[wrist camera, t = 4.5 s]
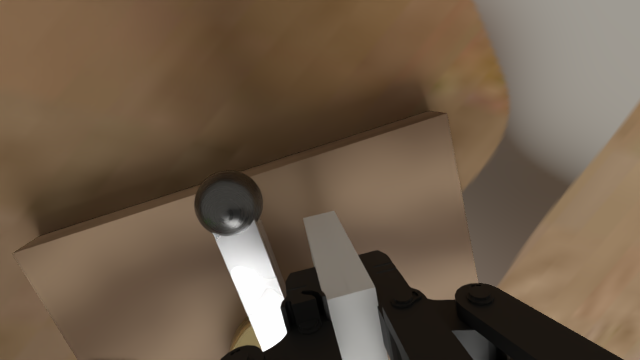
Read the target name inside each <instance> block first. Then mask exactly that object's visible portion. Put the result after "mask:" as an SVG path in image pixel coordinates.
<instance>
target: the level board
mask: <svg viewBox="0 0 640 360" xmlns="http://www.w3.org/2000/svg"><path fill="white" fill-rule="evenodd" d="M241 172H242V173H244V174H246V175H248V176H249V177H251V178H252V179H253V180H254V181H255V182H256V184H257V185H258V186H259V188H260V190H261V193H262V196H263V210H262V214H261V216H260V219H261V221H262V224H263V227H264V229H265V232H266V235H267V237H268V240H269V243H270V245H271V248H272V251H273V253H274V256H275V259H276V261H277V264H278V267H279V269H280V272H281V275H282V277H283V280H284V283H285V282H286V280H287V278H288V276H289V274H290V273H293V272H297V271H301V270H305V269H308V268H312V267H314V264H313V260H312V255H311V251H310V247H309V242H308V238H307V234H306V229H305V225H304V221H303V218H306V217H310V216H314V215H318V214H322V213H326V212H331V211H335V213H336V215H337V217H338V219H339V221H340V223H341V224H342V226H343V228H344V230H345V232H346V234H347V236H348V237H349V239H350V241H351V243H352V245H353V247H354V249H355V250H356V252H357V254H358V255H360V254H364V253H368V252H371V251H375V250H379V251H381V252H383V253H385V254H387V255H388V257H389V258H390V259H391V261H392V263H393V264H394V265H395V266H396V269H398V271H399V272H400V273H401V275H402V276H403V278H404V279H405V280H406V282H407V283H408V285H409V286H410V287H411V288H414V289H417V290H420V291H421V292H422V293H423V294H424V295H425V296H426V297H427V299H432V300H454V299H455V293H456V291H457V289H459V288H460V287H461V286H463V285H467V284H470V283H478V278H477V273H476V268H475V262H474V257H473V251H472V246H471V241H470V235H469V230H468V224H467V219H466V214H465V208H464V203H463V198H462V192H461V186H460V181H459V176H458V170H457V165H456V159H455V154H454V149H453V143H452V138H451V132H450V127H449V122H448V116H447V113H441V112H434V111H428V112H424V113H421V114H418V115H415V116H412V117H409V118H406V119H403V120H400V121H396V122H393V123H390V124H387V125H384V126H381V127H378V128H375V129H372V130H368V131H365V132H362V133H359V134H356V135H353V136H350V137H347V138H344V139H340V140H337V141H334V142H331V143H328V144H325V145H322V146H319V147H316V148H312V149H309V150H306V151H303V152H300V153H297V154H294V155H291V156H288V157H284V158H281V159H278V160H275V161H272V162H269V163H266V164H263V165H260V166H256V167H253V168H250V169H247V170H244V171H241ZM200 185H201V184H200ZM200 185H197V186H194V187H191V188H188V189H185V190H182V191H179V192H175V193H172V194H169V195H166V196H163V197H160V198H157V199H154V200H151V201H147V202H144V203H141V204H138V205H135V206H132V207H129V208H126V209H123V210H119V211H116V212H113V213H110V214H107V215H104V216H101V217H98V218H95V219H91V220H88V221H85V222H82V223H79V224H76V225H73V226H70V227H67V228H63V229H60V230H57V231H54V232H51V233H48V234H45V235H42V236H39V237H37V238H36V239H34V240H32V241H31V242H29V243H28V244H26V245H25V246H23V247H21V248H20V249H18V250H17V251H15V252H14V253H12V255H13V257H14V258H15V260H16V262H17V263H18V265H19V266H20V268H21V270H22V271H23V273H24V274H25V276H26V278H27V279H28V281H29V282H30V284H31V286H32V287H33V289H34V290H35V292H36V294H37V295H38V297H39V299H40V300H41V302H42V303H43V305H44V307H45V308H46V310H47V311H48V313H49V315H50V316H51V318H52V319H53V321H54V323H55V324H56V326H57V327H58V329H59V331H60V332H61V334H62V335H63V337H64V339H65V340H66V342H67V343H68V345H69V347H70V348H71V350H72V351H73V353H74V355H75V356H76V358H77V360H221V358H222V357H224V356H225V355H226V354H227V353H228V352H229V351H230V346H231V342H232V339H233V337H234V334H235V332H236V330H237V329H238V327H239V326H240V324H241V323H242V321H243V320H244V319H245V318H246V317H247V316H248V315H247V313H246V310H245V308H244V306H243V303H242V301H241V298H240V296H239V294H238V291H237V289H236V287H235V284H234V282H233V280H232V277H231V275H230V273H229V270H228V268H227V265H226V263H225V261H224V258H223V256H222V254H221V251H220V249H219V247H218V244H217V242H216V239H215V237H214V235H213V234H212V233H210V232H209V231H207V230H206V229H205V228H204V227H203V226H202V225H201V224H200V222H199V220H198V219H197V216H196V214H195V209H194V200H195V195H196V192H197V190H198V188H199V186H200ZM285 285H286V283H285ZM387 356H388V360H390V357H389V355H388V353H387Z"/></svg>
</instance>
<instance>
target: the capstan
mask: <svg viewBox="0 0 640 360" xmlns="http://www.w3.org/2000/svg"><path fill="white" fill-rule="evenodd" d="M194 209H195V214H196V216H197V219H198V220H199V222H200V224H201V225H202V226H203V227H204V228H205V229H206V230H207V231H209V232H210V233H212V234H213V235H214V237H215V239H216V242H217V244H218V247H219V249H220V251H221V254H222V256H223V258H224V261H225V263H226V265H227V268H228V270H229V273H230V275H231V277H232V280H233V282H234V284H235V287H236V289H237V291H238V294H239V296H240V298H241V301H242V303H243V306H244V308H245V310H246V313H247V315H248V316H247V317H246V318H245V319H244V320H243V321H242V323H241V324H240V326H239V327H238V329H237V330H236V332H235V334H234V337H233V339H232V342H231V346H230V351H232V350H233V349H235V348H237V347H241V346H245V345H254V346H257V347H259V348H260V349H261V350H262V352H263V351H265V350H267V349H269V348H271V347H272V346H274V345H276V344H277V343H278V342H280V341H281V340H282V339H283V338H284V336H285V335H286V334H287V331H286V327H285V324H284V320H283V316H282V313H281V309H280V307H281V303H282V301H283V300H284V299H285V297H286V296H287V294H286V285H285V283H284V280H283V277H282V275H281V272H280V269H279V267H278V264H277V261H276V259H275V256H274V253H273V251H272V248H271V245H270V243H269V240H268V237H267V235H266V232H265V229H264V227H263V224H262V221H261V219H260V216H261V214H262V210H263V196H262V193H261V190H260V188H259V186H258V185H257V184H256V182H255V181H254V180H253V179H252V178H251V177H249V176H248V175H246V174H244V173H242V172H238V171H233V170H226V171H220V172H217V173H214V174H213V175H211V176H209V177H208V178H207V179H205V180H204V181H203V182H202V184H201V185H200V186H199V188H198V190H197V192H196V195H195V200H194ZM230 351H229V352H230Z"/></svg>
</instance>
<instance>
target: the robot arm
mask: <svg viewBox="0 0 640 360" xmlns="http://www.w3.org/2000/svg"><path fill="white" fill-rule="evenodd" d="M303 221H304V225H305V229H306V234H307V238H308V242H309V247H310V251H311V255H312V260H313V264H314V267H312V268H308V269H305V270H301V271H297V272H293V273H290V274H289V276H288V278H287V280H286V282H285V283H286V294H287V296H286V297H285V299H284V300H283V301H282V303H281V307H280V309H281V313H282V316H283V320H284V324H285V327H286V331H287V334H286V335H285V336H284V338H283V339H282V340H281V341H280V342H278V343H277V344H276V345H274V346H272V347H271V348H269V349H267V350H265V351H263V352H262V350H261V349H260V348H259V347H257V346H254V345H245V346H241V347H237V348H235V349H233V350H232V351H230V352H228V353H227V354H226V355H225V356H224V357H222V358H221V360H388V356H387V353H388V355H389V357H390V360H623V359H621V358H620V357H618V356H616V355H614V354H613V353H611V352H609V351H607V350H606V349H604V348H602V347H600V346H599V345H597V344H595V343H593V342H592V341H590V340H588V339H586V338H585V337H583V336H581V335H579V334H578V333H576V332H574V331H572V330H570V329H569V328H567V327H565V326H563V325H562V324H560V323H558V322H556V321H555V320H553V319H551V318H549V317H548V316H546V315H544V314H542V313H541V312H539V311H537V310H535V309H534V308H532V307H530V306H528V305H527V304H525V303H523V302H521V301H520V300H518V299H516V298H514V297H513V296H511V295H509V294H507V293H505V292H504V291H502V290H500V289H498V288H496V287H494V286H491V285H489V284H483V283H470V284H467V285H463V286H461V287H460V288H459V289H457V291H456V293H455V299H454V300H432V299H427V297H426V296H425V295H424V294H423V293H422V292H421V291H420V290H417V289H414V288H411V287H410V286H409V285H408V283H407V282H406V280H405V279H404V278H403V276H402V275H401V273H400V272H399V271H398V269H396V266H395V265H394V264H393V263H392V261H391V259H390V258H389V257H388V255H387V254H385V253H383V252H381V251H379V250H375V251H371V252H368V253H364V254H360V255H358V254H357V252H356V250H355V249H354V247H353V245H352V243H351V241H350V239H349V237H348V236H347V234H346V232H345V230H344V228H343V226H342V224H341V223H340V221H339V219H338V217H337V215H336V213H335V211H331V212H326V213H322V214H318V215H314V216H310V217H306V218H303Z"/></svg>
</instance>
